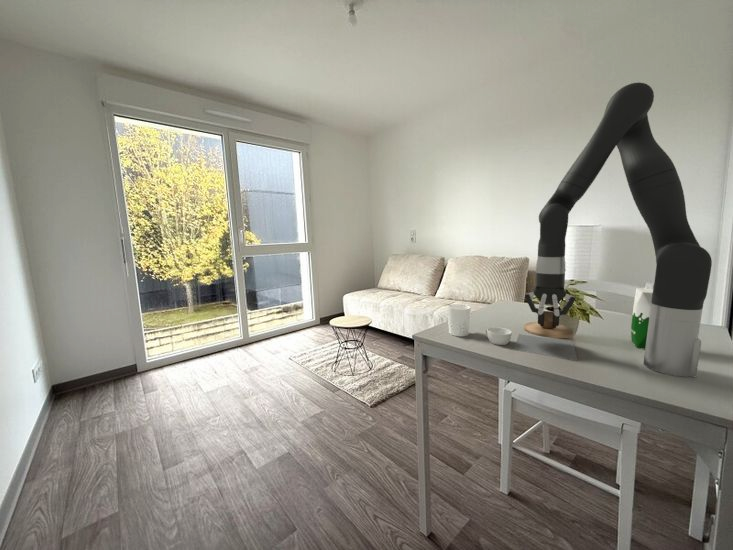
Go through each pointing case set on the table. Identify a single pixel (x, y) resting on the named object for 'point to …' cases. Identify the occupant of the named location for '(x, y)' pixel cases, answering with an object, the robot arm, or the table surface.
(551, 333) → the lid
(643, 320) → the milk carton
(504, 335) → the white bowl
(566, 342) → the mat
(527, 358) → the table surface
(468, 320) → the white cup
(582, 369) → the table surface
